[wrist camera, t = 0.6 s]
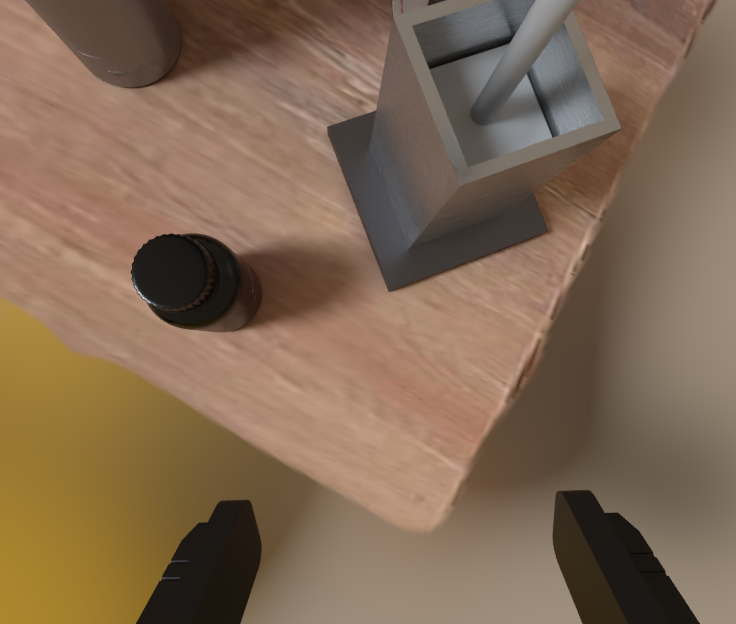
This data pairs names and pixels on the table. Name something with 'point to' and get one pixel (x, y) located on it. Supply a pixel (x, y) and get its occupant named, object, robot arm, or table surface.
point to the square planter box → (442, 151)
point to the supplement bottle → (196, 283)
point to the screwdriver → (500, 89)
